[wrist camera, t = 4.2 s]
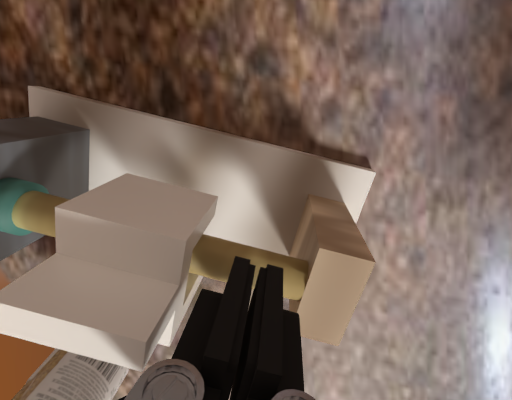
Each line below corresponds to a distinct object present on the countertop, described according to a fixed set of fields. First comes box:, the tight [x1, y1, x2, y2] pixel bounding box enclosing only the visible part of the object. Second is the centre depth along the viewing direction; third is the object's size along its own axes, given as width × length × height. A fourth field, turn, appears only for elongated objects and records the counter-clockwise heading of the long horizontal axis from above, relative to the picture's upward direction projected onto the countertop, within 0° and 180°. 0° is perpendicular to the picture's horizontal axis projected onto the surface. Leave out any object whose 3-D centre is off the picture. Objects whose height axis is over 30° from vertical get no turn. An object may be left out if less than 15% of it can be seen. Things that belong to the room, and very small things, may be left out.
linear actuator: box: [0, 86, 376, 346], centre depth 13 cm, size 19×8×9 cm, turn 77°
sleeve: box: [0, 173, 218, 372], centre depth 10 cm, size 4×4×6 cm
